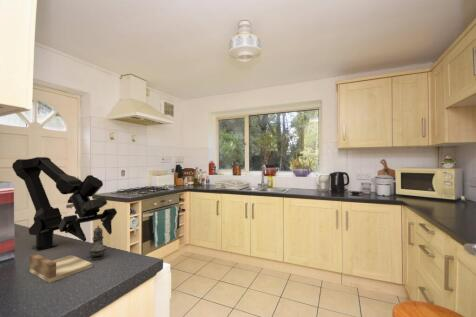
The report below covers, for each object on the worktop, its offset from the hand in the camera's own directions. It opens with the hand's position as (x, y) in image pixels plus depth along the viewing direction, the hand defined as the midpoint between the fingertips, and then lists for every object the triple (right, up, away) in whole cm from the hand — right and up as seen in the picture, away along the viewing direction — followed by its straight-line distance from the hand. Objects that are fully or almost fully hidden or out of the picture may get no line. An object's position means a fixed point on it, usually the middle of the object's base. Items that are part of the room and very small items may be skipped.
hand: (98, 237), depth 84 cm
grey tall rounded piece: (0, -8, 0) cm, 8 cm away
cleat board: (-7, -8, -9) cm, 14 cm away
